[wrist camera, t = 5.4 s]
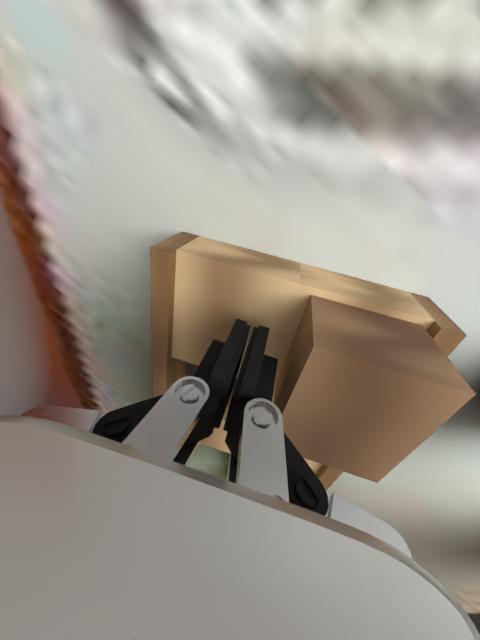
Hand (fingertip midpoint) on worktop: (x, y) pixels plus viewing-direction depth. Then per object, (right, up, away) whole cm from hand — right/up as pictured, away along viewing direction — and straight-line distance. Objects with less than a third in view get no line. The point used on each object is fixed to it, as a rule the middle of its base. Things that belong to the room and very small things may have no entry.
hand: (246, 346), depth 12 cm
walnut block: (+5, -1, +1) cm, 5 cm away
